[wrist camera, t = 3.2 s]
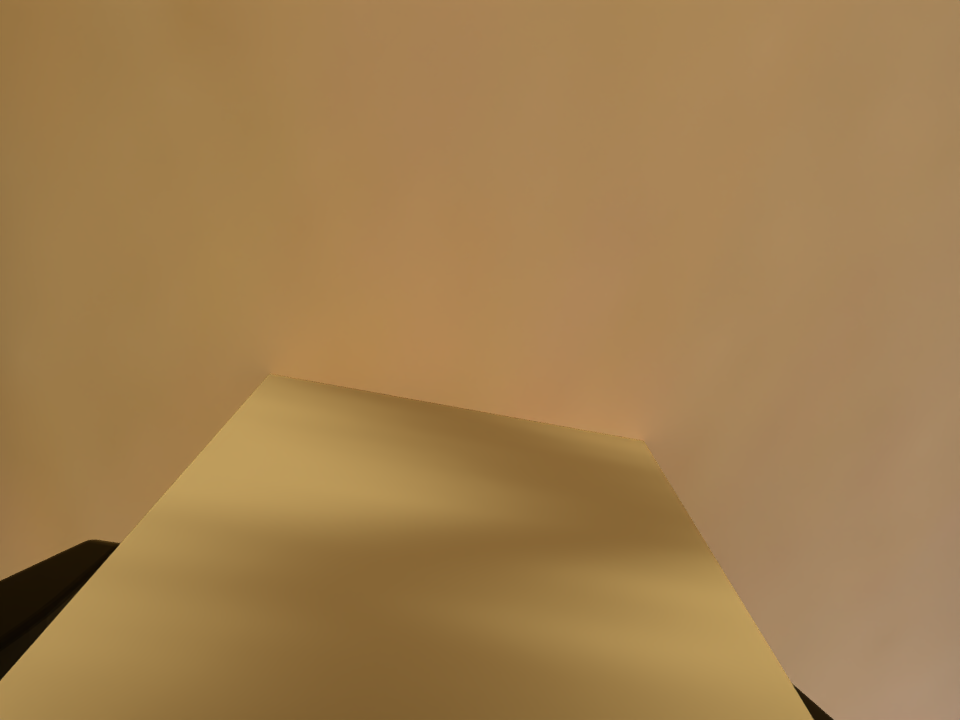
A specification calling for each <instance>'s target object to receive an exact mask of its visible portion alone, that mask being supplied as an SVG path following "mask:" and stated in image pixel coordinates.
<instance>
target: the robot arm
mask: <svg viewBox="0 0 960 720" xmlns="http://www.w3.org/2000/svg"><path fill="white" fill-rule="evenodd" d="M120 544H121V543H115V542H108V541H102V540H88V541H85V542H83V543H80V544H78V545H76V546H74V547H72V548H70V549H68V550H65V551H63V552H61V553H59V554H57V555H55V556H53V557H50V558H48V559H46V560H44V561H42V562H40V563H38V564H35V565H33V566H31V567H29V568H27V569H25V570H23V571H20V572H18V573H16V574H14V575H12V576H10V577H8V578H5V579H3V580H1V581H0V681H1V679H2V678H3V677H4V676H5V675H6V674H7V673H8V671H9V670H10V669H11V668H12V667H13V666H14V665H15V663H16V662H17V661H18V660H19V659H20V658H21V657H22V655H23V654H24V653H25V652H26V651H27V650H28V649H29V648H30V646H31V645H32V644H33V643H34V642H35V641H36V640H37V638H38V637H39V636H40V635H41V634H42V633H43V632H44V630H45V629H46V628H47V627H48V626H49V625H50V624H51V622H52V621H53V620H54V619H55V618H56V617H57V616H58V614H59V613H60V612H61V611H62V610H63V609H64V608H65V606H66V605H67V604H68V603H69V602H70V601H71V600H72V598H73V597H74V596H75V595H76V594H77V593H78V592H79V591H80V589H81V588H82V587H83V586H84V585H85V584H86V583H87V581H88V580H89V579H90V578H91V577H92V576H93V575H94V573H95V572H96V571H97V570H98V569H99V568H100V567H101V565H102V564H103V563H104V562H105V561H106V560H107V559H108V557H109V556H110V555H111V554H112V553H113V552H114V551H115V549H116V548H117V547H118V546H119V545H120ZM792 685H793V684H792ZM793 686H794V685H793ZM794 688H795V690H796V691H797V693H798V695H799V696H800V698H801V700H802V701H803V703H804V704H805V706H806V708H807V709H808V711H809V713H810V714H811V716H812V718H813V719H814V720H833V719H832V718H831V717H830V716H829V715H828V714H826V713H825V712H824V711H823V710H822V709H821V708H820V707H818V706H817V705H816V704H815V703H814V702H813V701H811V700H810V699H809V698H808V697H807V696H806V695H805V694H803V693H802V692H801V691H800V690H799V689H798V688H797V687H795V686H794Z"/></svg>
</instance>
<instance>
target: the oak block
mask: <svg viewBox="0 0 960 720" xmlns="http://www.w3.org/2000/svg"><path fill="white" fill-rule="evenodd" d="M0 720H814V719H813V718H812V716H811V714H810V713H809V711H808V709H807V708H806V706H805V704H804V703H803V701H802V700H801V698H800V696H799V695H798V693H797V691H796V690H795V688H794V686H793V685H792V683H791V682H790V680H789V678H788V677H787V675H786V673H785V672H784V670H783V668H782V667H781V665H780V664H779V662H778V660H777V659H776V657H775V655H774V654H773V652H772V650H771V649H770V647H769V646H768V644H767V642H766V641H765V639H764V637H763V636H762V634H761V632H760V631H759V629H758V627H757V626H756V624H755V623H754V621H753V619H752V618H751V616H750V614H749V613H748V611H747V609H746V608H745V606H744V605H743V603H742V601H741V600H740V598H739V596H738V595H737V593H736V591H735V590H734V588H733V587H732V585H731V583H730V582H729V580H728V578H727V577H726V575H725V573H724V572H723V570H722V569H721V567H720V565H719V564H718V562H717V560H716V559H715V557H714V555H713V554H712V552H711V551H710V549H709V547H708V546H707V544H706V542H705V541H704V539H703V537H702V536H701V534H700V532H699V531H698V529H697V528H696V526H695V524H694V523H693V521H692V519H691V518H690V516H689V514H688V513H687V511H686V510H685V508H684V506H683V505H682V503H681V501H680V500H679V498H678V496H677V495H676V493H675V492H674V490H673V488H672V487H671V485H670V483H669V482H668V480H667V478H666V477H665V475H664V474H663V472H662V470H661V469H660V467H659V465H658V464H657V462H656V460H655V459H654V457H653V456H652V454H651V452H650V451H649V449H648V447H647V446H646V444H645V442H644V441H642V440H636V439H631V438H625V437H619V436H614V435H608V434H603V433H597V432H592V431H586V430H580V429H575V428H569V427H564V426H558V425H553V424H547V423H541V422H536V421H530V420H525V419H519V418H514V417H508V416H502V415H497V414H491V413H486V412H480V411H475V410H469V409H463V408H458V407H452V406H447V405H441V404H436V403H430V402H424V401H419V400H413V399H408V398H402V397H397V396H391V395H385V394H380V393H374V392H369V391H363V390H358V389H352V388H346V387H341V386H335V385H330V384H324V383H319V382H313V381H307V380H302V379H296V378H291V377H285V376H280V375H274V374H269V375H268V376H267V377H266V378H265V380H264V381H263V382H262V383H261V384H260V385H259V386H258V388H257V389H256V390H255V391H254V392H253V393H252V394H251V396H250V397H249V398H248V399H247V400H246V401H245V402H244V404H243V405H242V406H241V407H240V408H239V409H238V410H237V412H236V413H235V414H234V415H233V416H232V417H231V418H230V420H229V421H228V422H227V423H226V424H225V425H224V426H223V428H222V429H221V430H220V431H219V432H218V433H217V434H216V435H215V437H214V438H213V439H212V440H211V441H210V442H209V443H208V445H207V446H206V447H205V448H204V449H203V450H202V451H201V453H200V454H199V455H198V456H197V457H196V458H195V459H194V461H193V462H192V463H191V464H190V465H189V466H188V467H187V469H186V470H185V471H184V472H183V473H182V474H181V475H180V477H179V478H178V479H177V480H176V481H175V482H174V483H173V485H172V486H171V487H170V488H169V489H168V490H167V491H166V492H165V494H164V495H163V496H162V497H161V498H160V499H159V500H158V502H157V503H156V504H155V505H154V506H153V507H152V508H151V510H150V511H149V512H148V513H147V514H146V515H145V516H144V518H143V519H142V520H141V521H140V522H139V523H138V524H137V526H136V527H135V528H134V529H133V530H132V531H131V532H130V534H129V535H128V536H127V537H126V538H125V539H124V540H123V542H122V543H121V544H120V545H119V546H118V547H117V548H116V549H115V551H114V552H113V553H112V554H111V555H110V556H109V557H108V559H107V560H106V561H105V562H104V563H103V564H102V565H101V567H100V568H99V569H98V570H97V571H96V572H95V573H94V575H93V576H92V577H91V578H90V579H89V580H88V581H87V583H86V584H85V585H84V586H83V587H82V588H81V589H80V591H79V592H78V593H77V594H76V595H75V596H74V597H73V598H72V600H71V601H70V602H69V603H68V604H67V605H66V606H65V608H64V609H63V610H62V611H61V612H60V613H59V614H58V616H57V617H56V618H55V619H54V620H53V621H52V622H51V624H50V625H49V626H48V627H47V628H46V629H45V630H44V632H43V633H42V634H41V635H40V636H39V637H38V638H37V640H36V641H35V642H34V643H33V644H32V645H31V646H30V648H29V649H28V650H27V651H26V652H25V653H24V654H23V655H22V657H21V658H20V659H19V660H18V661H17V662H16V663H15V665H14V666H13V667H12V668H11V669H10V670H9V671H8V673H7V674H6V675H5V676H4V677H3V678H2V679H1V681H0Z"/></svg>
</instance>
